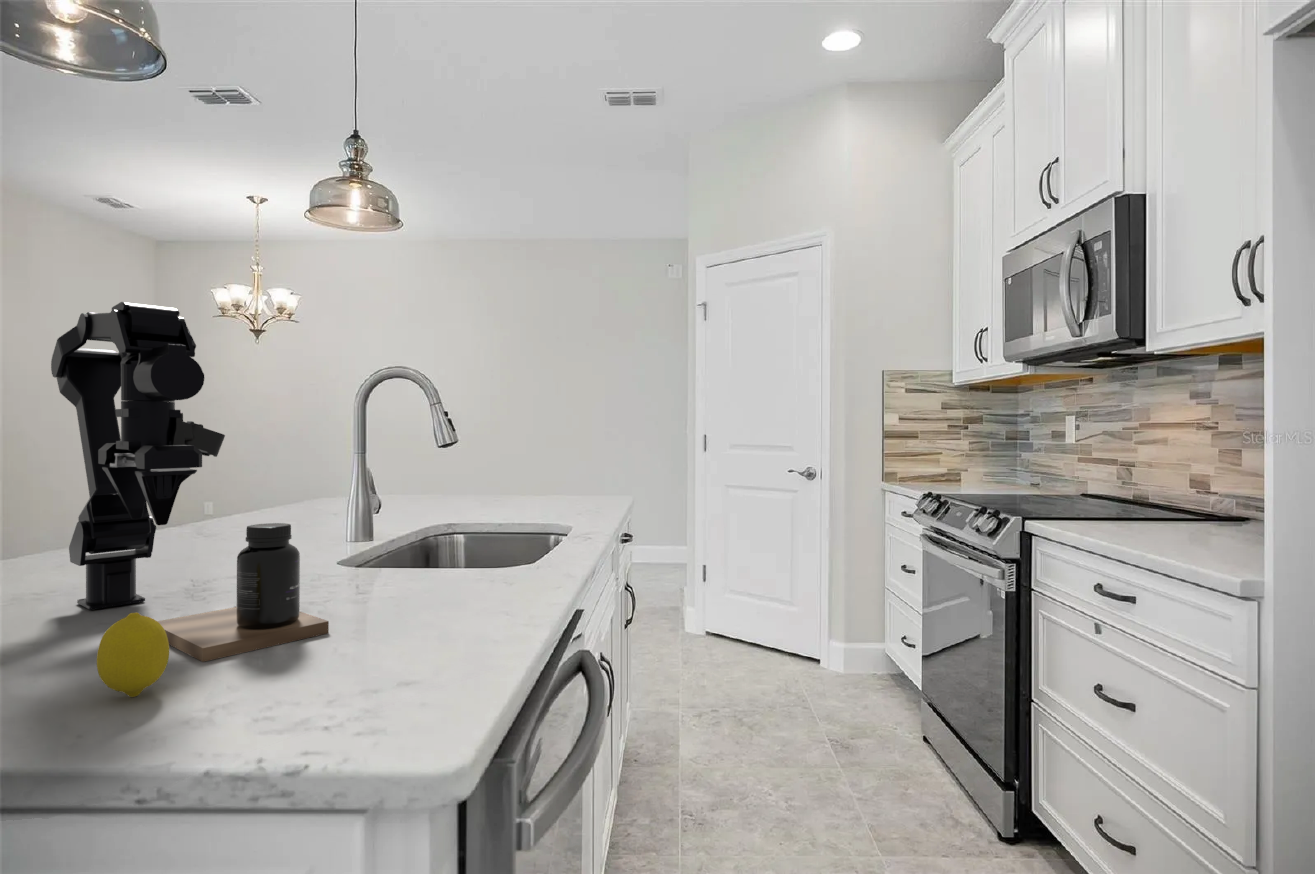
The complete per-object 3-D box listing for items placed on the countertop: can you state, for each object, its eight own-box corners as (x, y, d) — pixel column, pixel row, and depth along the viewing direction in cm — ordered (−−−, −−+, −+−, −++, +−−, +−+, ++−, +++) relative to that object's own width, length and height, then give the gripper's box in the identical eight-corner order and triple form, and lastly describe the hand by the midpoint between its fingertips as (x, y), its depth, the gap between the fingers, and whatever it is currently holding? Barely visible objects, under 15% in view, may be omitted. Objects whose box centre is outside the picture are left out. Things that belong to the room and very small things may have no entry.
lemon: (131, 710, 65) (131, 622, 65) (81, 705, 66) (80, 618, 66) (183, 688, 70) (183, 607, 70) (136, 684, 71) (136, 603, 71)
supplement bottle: (306, 623, 88) (306, 525, 87) (243, 634, 83) (243, 530, 83) (291, 612, 93) (291, 519, 93) (230, 621, 88) (230, 524, 88)
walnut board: (150, 634, 88) (149, 622, 88) (269, 611, 99) (269, 601, 99) (202, 662, 78) (202, 648, 78) (328, 633, 89) (328, 621, 89)
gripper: (246, 402, 94) (246, 521, 94) (190, 404, 105) (190, 510, 105) (145, 399, 85) (146, 531, 85) (96, 402, 96) (97, 518, 97)
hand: (148, 521), depth 93 cm, fingers open, 9 cm apart
